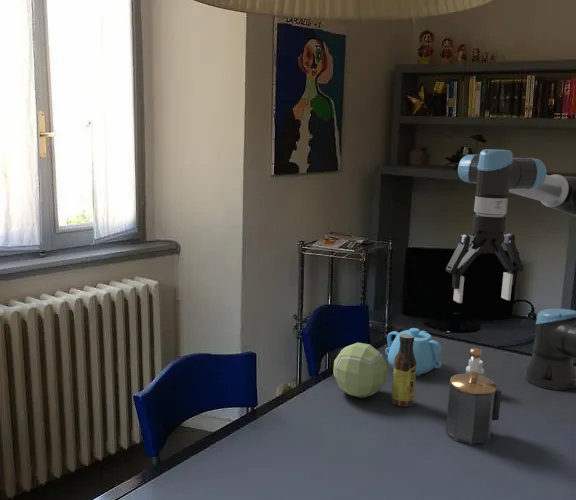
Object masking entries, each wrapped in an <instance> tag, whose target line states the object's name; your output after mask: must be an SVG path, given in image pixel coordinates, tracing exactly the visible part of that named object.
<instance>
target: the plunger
mask: <svg viewBox="0 0 576 500" xmlns="http://www.w3.org/2000/svg"><path fill="white" fill-rule="evenodd" d="M469 350H470V351H469V355H470V356H471V357H470V359H471V366H470V374H465V373H457V374H454V375H452V376H451V377H450V380H449V386H450V385H451V386H452V387H453V388H454V389H456V390H458V391H460V392H463V393H467V394H473V395H489V394H492V393H494V392H495V391H496V389H497V383H496V382H495V381H494V380H492V379H491V378H488V377H486V376H484V377H483V376H480V375H478V370H479V360H481V359H480V357H482V355H483V350H482V349H481V348H478V347H471V348H470V349H469Z"/></svg>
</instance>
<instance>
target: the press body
mask: <svg viewBox="0 0 576 500" xmlns="http://www.w3.org/2000/svg"><path fill="white" fill-rule="evenodd" d="M448 392H449V393H448V402H447V403H448V404H447V413H446V426H445V433H446V435H447V436H448V437H449V438H451V440H454V442H459V443H461V444H465V445H469V446H474V445H475V446H476V445H477V446H481V445H485V444H488V443H489V441H490V439H491V433H492V424H493V421H499V416H500V406H501V401H502V400H501V398H502V390H501V389H499V388H497V387H496V391H495V392H494V393H492V394H489V395H473V394H467V393H463V392H460V391H458V390H456V389H454V388H453V387H452V386H451V385H450V384H449V391H448Z"/></svg>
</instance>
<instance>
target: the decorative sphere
mask: <svg viewBox="0 0 576 500" xmlns="http://www.w3.org/2000/svg"><path fill="white" fill-rule="evenodd" d="M332 371H333V373H332V374H333V376H334V378H335V381H336V383H337V386H338V387H339V388H340V389H341V390H342V391H344V392H345V394H348V395H349V396H351V397H352V396H353V397H357V398H360V399H364V398H367V397H370V396H373V395H375V394H376V393H378V391H380V389H381V388H382V386H383V385H384V384H385V383H386V381H387V380H388V364H387V363H386V360H385V358H384V356H383V355H382V353H380V351H378V349H376V348H375V347H373V346H372V344H368V343H364V342H363V343H362V342H355V343H353V344H350V345H347V346H344V348H342V349H341V350H340V352H339V353H338V354H337V356H336V358H335V359H334V361H333V370H332Z"/></svg>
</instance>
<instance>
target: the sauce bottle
mask: <svg viewBox="0 0 576 500" xmlns="http://www.w3.org/2000/svg"><path fill="white" fill-rule="evenodd" d="M413 342H414V336H413V335H410V334H401V335H400V348H399V350H400V351H399V352H398V354H397V355H396V357H395V360H394V361H395V362H394V368H393V372H392V387H391V390H392V391H391V401H392V403H393V405H395V406H398V407H404V408H406V407H410V406H412V405H413V404H414V399H415V391H416V389H415V388H416V387H415V386H416V377H417V376H416V360H415V357H414V353H413Z"/></svg>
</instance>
